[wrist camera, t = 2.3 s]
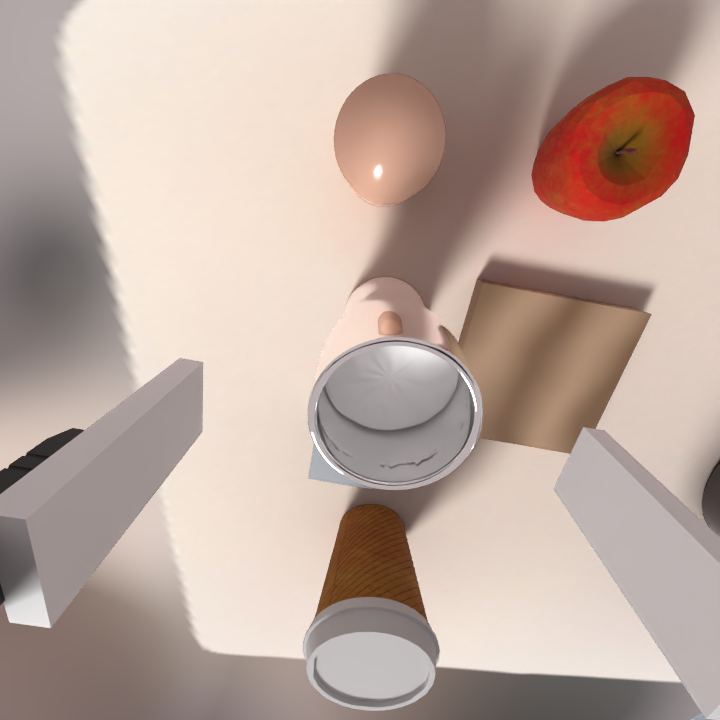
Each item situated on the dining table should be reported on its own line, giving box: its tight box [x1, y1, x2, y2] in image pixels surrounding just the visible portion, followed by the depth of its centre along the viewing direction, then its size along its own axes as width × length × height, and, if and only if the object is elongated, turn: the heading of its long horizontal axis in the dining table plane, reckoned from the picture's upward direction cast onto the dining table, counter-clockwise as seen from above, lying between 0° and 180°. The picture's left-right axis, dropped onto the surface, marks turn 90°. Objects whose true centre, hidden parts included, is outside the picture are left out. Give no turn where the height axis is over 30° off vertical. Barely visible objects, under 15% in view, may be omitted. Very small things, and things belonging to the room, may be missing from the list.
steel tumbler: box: [307, 277, 484, 490], centre depth 20 cm, size 7×7×15 cm
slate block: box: [308, 444, 374, 490], centre depth 29 cm, size 5×5×5 cm
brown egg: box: [334, 74, 446, 207], centre depth 20 cm, size 5×5×8 cm
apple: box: [532, 77, 695, 221], centre depth 20 cm, size 6×6×8 cm
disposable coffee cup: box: [303, 505, 440, 711], centre depth 30 cm, size 10×10×12 cm
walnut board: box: [458, 279, 651, 454], centre depth 28 cm, size 12×12×2 cm
